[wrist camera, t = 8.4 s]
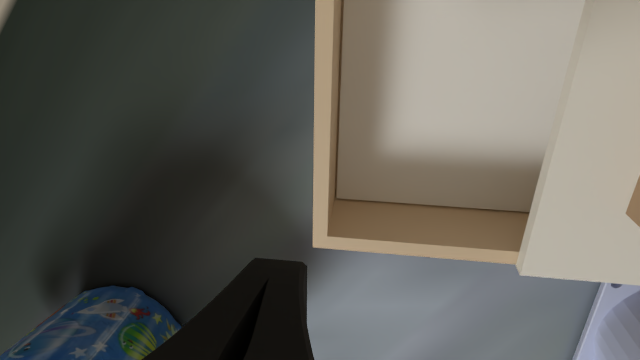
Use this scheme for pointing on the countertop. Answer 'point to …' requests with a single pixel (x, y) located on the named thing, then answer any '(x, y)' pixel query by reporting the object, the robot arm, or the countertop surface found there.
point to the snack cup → (99, 328)
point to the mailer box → (434, 122)
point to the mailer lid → (592, 158)
